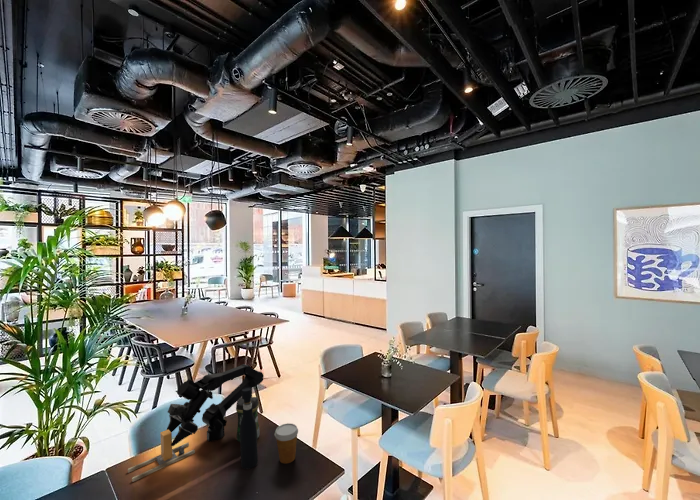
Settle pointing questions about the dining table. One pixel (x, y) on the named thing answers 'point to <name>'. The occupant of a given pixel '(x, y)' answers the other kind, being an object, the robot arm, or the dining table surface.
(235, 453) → the dining table surface
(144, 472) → the rail board
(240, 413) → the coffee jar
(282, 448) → the disposable coffee cup
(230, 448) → the dining table surface
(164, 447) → the tan slider block
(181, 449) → the keeper hook
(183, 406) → the robot arm
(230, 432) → the dining table surface
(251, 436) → the wine bottle
